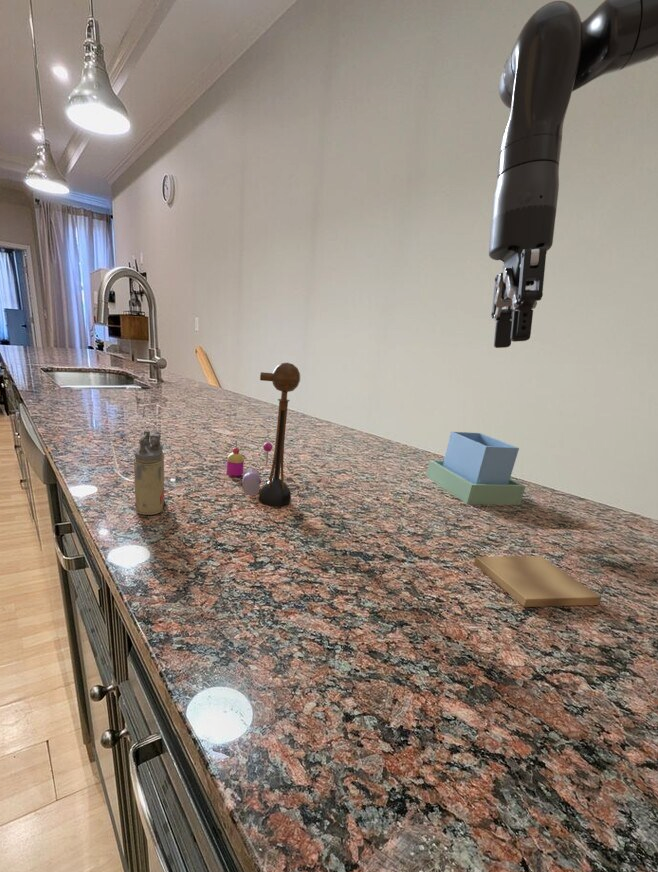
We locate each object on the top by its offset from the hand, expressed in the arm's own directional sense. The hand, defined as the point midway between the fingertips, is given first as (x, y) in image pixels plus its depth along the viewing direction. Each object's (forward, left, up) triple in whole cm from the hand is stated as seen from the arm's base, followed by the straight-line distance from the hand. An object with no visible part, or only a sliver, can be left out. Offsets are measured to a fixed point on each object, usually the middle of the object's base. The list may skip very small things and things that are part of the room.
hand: (510, 344), depth 63 cm
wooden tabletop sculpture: (+32, -1, -25) cm, 41 cm away
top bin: (-2, -3, -24) cm, 25 cm away
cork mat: (+6, +23, -25) cm, 34 cm away
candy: (+34, -12, -25) cm, 44 cm away
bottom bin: (-2, -3, -25) cm, 25 cm away
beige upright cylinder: (+50, +1, -25) cm, 56 cm away
